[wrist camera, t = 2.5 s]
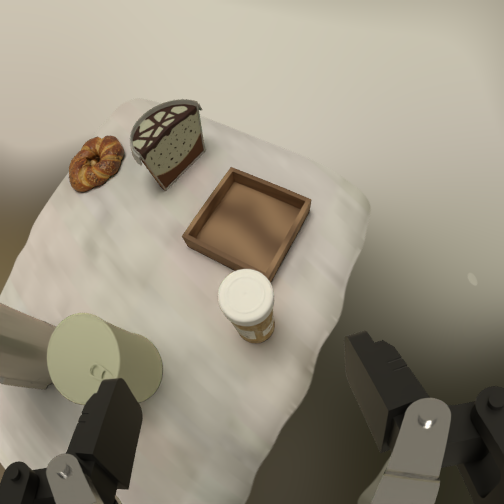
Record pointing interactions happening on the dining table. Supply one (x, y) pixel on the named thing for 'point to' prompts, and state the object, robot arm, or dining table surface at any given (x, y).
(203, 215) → the box
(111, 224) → the dining table surface
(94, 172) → the pretzel
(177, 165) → the food container
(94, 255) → the dining table surface
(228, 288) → the sprinkles bottle
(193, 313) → the dining table surface
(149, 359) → the can
